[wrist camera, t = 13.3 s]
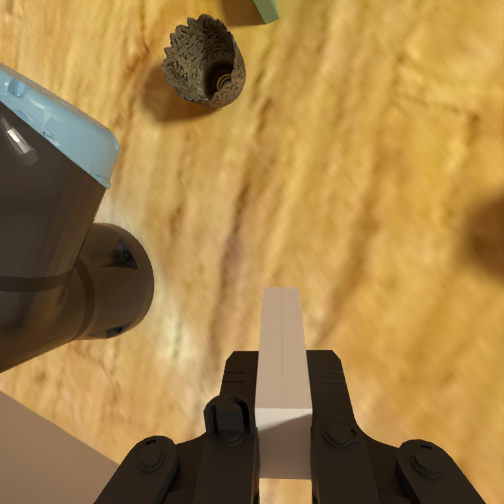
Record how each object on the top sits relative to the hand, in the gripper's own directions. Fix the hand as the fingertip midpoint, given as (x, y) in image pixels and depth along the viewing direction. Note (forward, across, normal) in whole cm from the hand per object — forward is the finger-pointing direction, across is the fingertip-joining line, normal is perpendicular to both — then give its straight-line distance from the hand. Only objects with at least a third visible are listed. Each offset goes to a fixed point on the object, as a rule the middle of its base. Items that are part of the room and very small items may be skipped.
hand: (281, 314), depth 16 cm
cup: (+31, -5, +10) cm, 33 cm away
